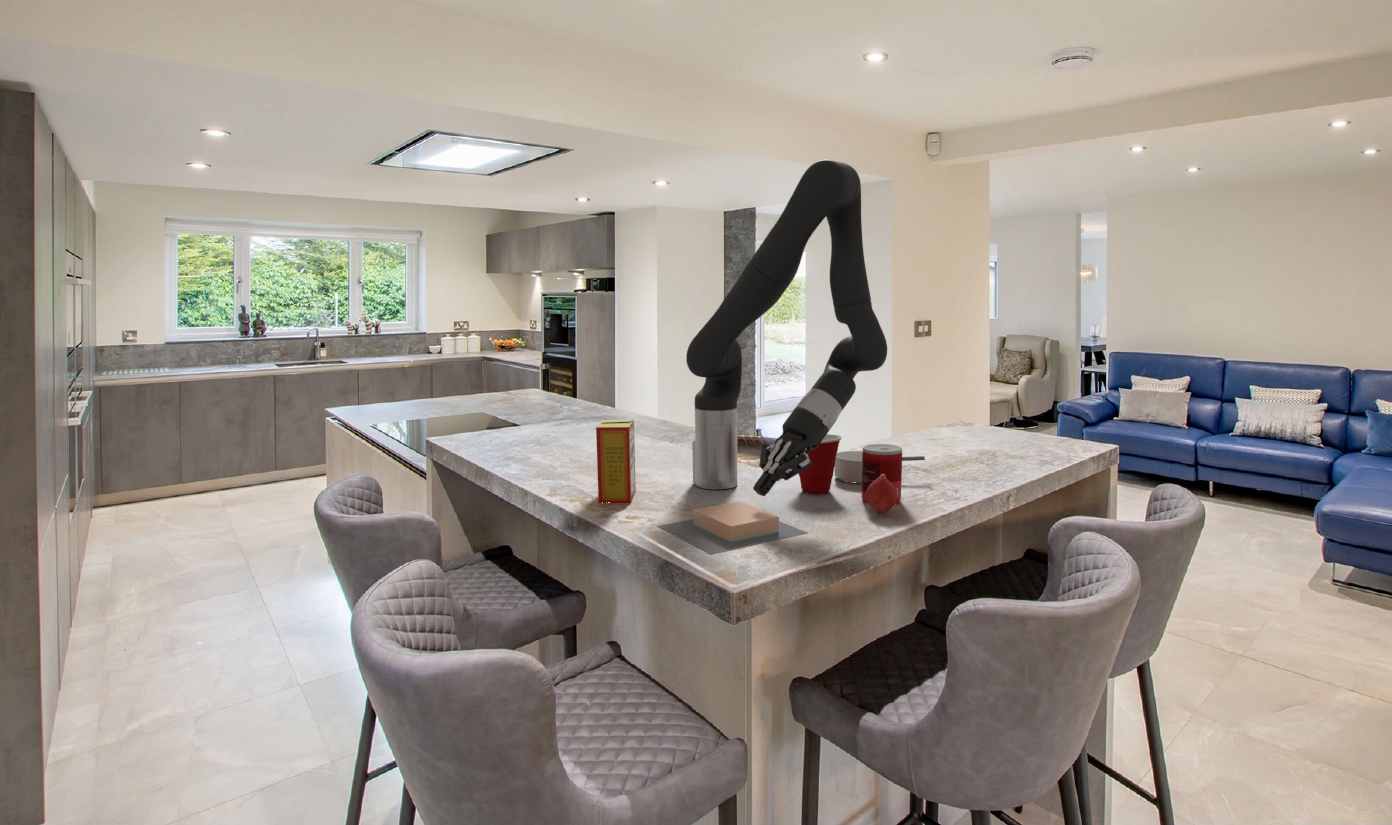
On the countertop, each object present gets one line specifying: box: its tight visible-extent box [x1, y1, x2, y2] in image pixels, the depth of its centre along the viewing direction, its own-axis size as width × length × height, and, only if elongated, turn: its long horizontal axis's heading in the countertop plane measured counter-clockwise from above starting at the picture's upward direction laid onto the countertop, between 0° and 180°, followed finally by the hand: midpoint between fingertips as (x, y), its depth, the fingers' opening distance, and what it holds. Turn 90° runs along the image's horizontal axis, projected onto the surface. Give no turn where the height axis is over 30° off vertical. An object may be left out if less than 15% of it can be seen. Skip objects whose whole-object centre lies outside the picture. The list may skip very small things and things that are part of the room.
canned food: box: [861, 443, 903, 505], centre depth 150 cm, size 8×8×11 cm
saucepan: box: [833, 450, 926, 484], centre depth 168 cm, size 12×20×6 cm, turn 81°
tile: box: [692, 500, 780, 543], centre depth 132 cm, size 12×3×10 cm
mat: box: [656, 518, 809, 556], centre depth 132 cm, size 18×20×1 cm
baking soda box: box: [595, 419, 637, 504], centre depth 155 cm, size 10×6×16 cm
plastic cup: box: [798, 433, 842, 496], centre depth 158 cm, size 11×11×12 cm
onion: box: [865, 474, 898, 516], centre depth 140 cm, size 6×6×8 cm
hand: (758, 492), depth 134 cm, fingers closed
